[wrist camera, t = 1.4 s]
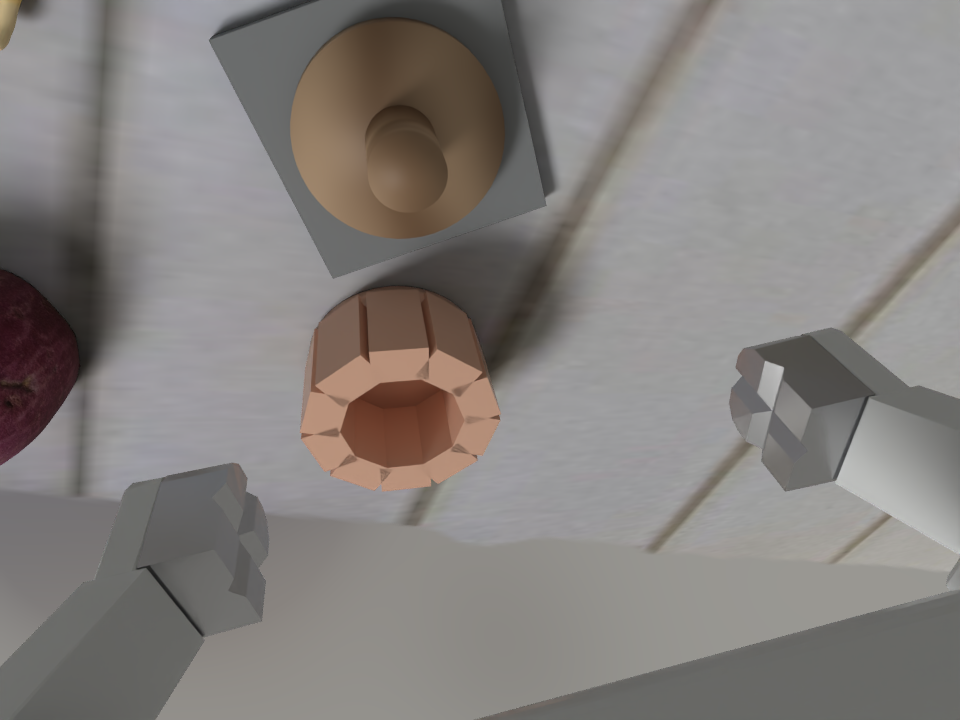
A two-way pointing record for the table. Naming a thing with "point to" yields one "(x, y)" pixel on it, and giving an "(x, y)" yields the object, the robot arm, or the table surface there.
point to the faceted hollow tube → (397, 390)
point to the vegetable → (31, 363)
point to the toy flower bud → (7, 20)
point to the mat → (280, 64)
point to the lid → (397, 128)
